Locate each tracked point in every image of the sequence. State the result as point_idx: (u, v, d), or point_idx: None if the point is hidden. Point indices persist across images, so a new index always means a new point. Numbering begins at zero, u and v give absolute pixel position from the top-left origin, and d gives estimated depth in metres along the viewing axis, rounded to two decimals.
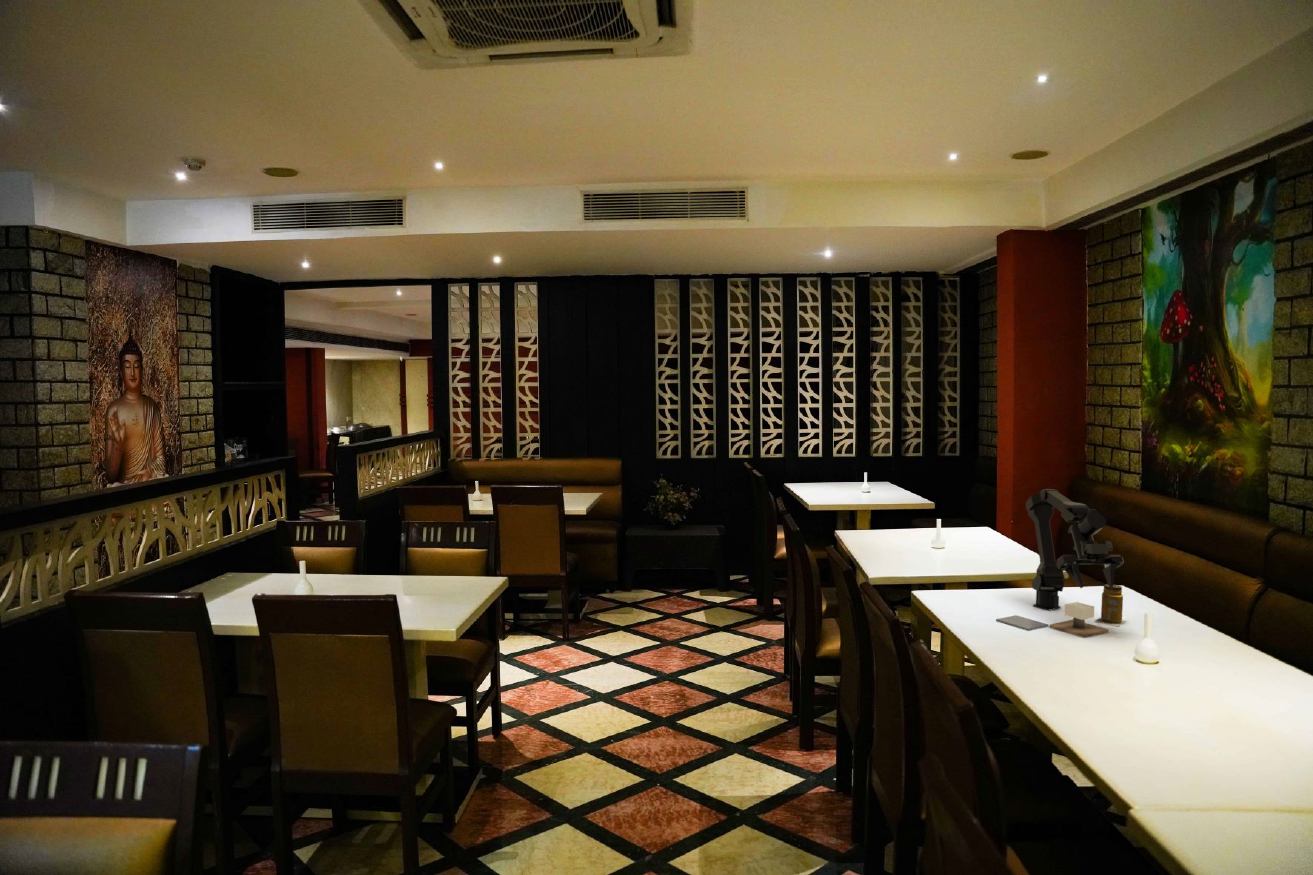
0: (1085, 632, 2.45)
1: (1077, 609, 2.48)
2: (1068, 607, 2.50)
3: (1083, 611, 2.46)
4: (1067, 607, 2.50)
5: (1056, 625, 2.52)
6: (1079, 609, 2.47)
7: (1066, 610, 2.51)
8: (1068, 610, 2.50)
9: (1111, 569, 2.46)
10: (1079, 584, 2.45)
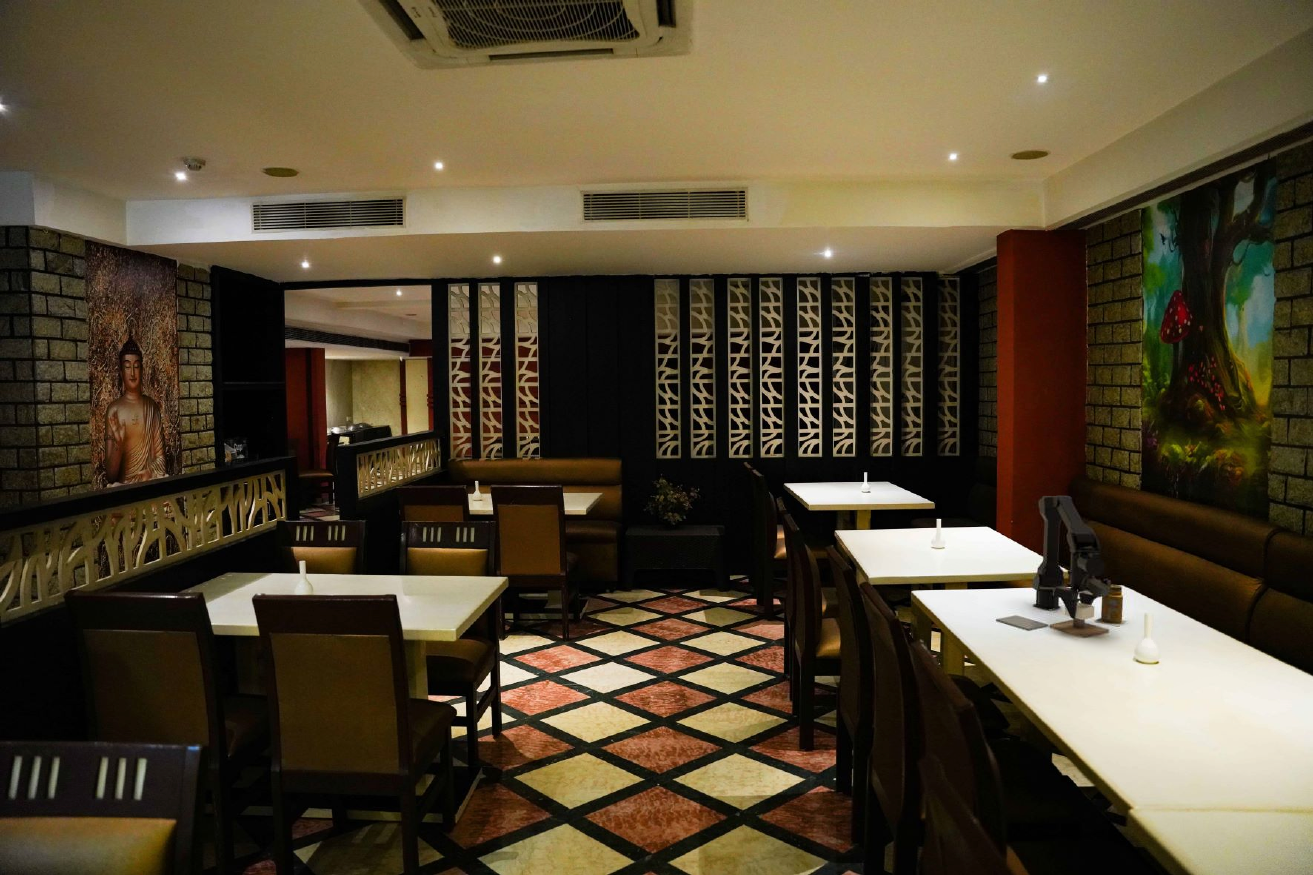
0: (1085, 632, 2.45)
1: (1077, 609, 2.48)
2: None
3: (1083, 611, 2.46)
4: None
5: (1056, 625, 2.52)
6: (1079, 609, 2.47)
7: (1066, 610, 2.51)
8: None
9: (1092, 600, 2.50)
10: (1071, 615, 2.49)
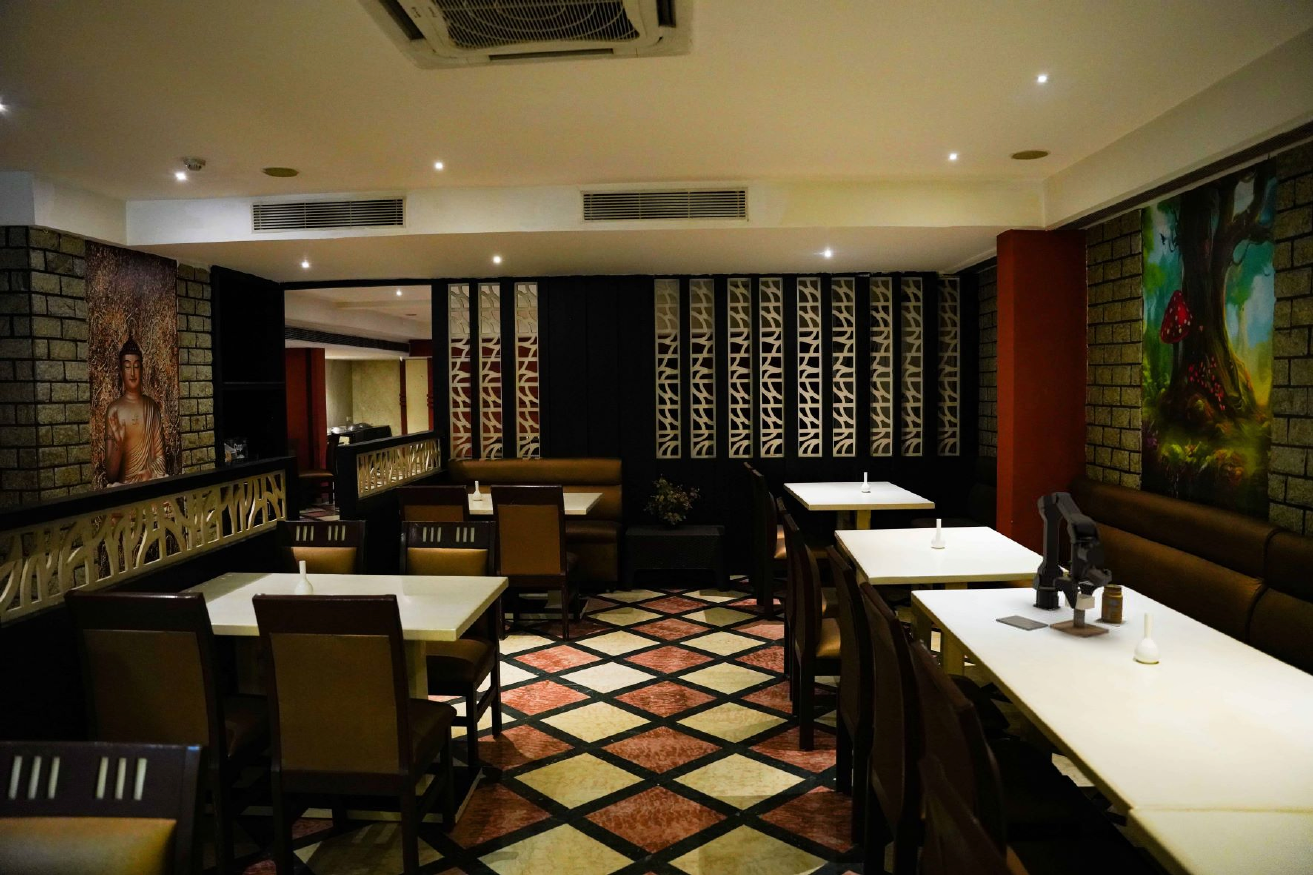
0: (1085, 632, 2.45)
1: (1077, 600, 2.47)
2: None
3: (1084, 602, 2.46)
4: None
5: (1056, 625, 2.52)
6: (1079, 599, 2.47)
7: (1066, 601, 2.51)
8: None
9: (1092, 590, 2.50)
10: (1072, 605, 2.48)
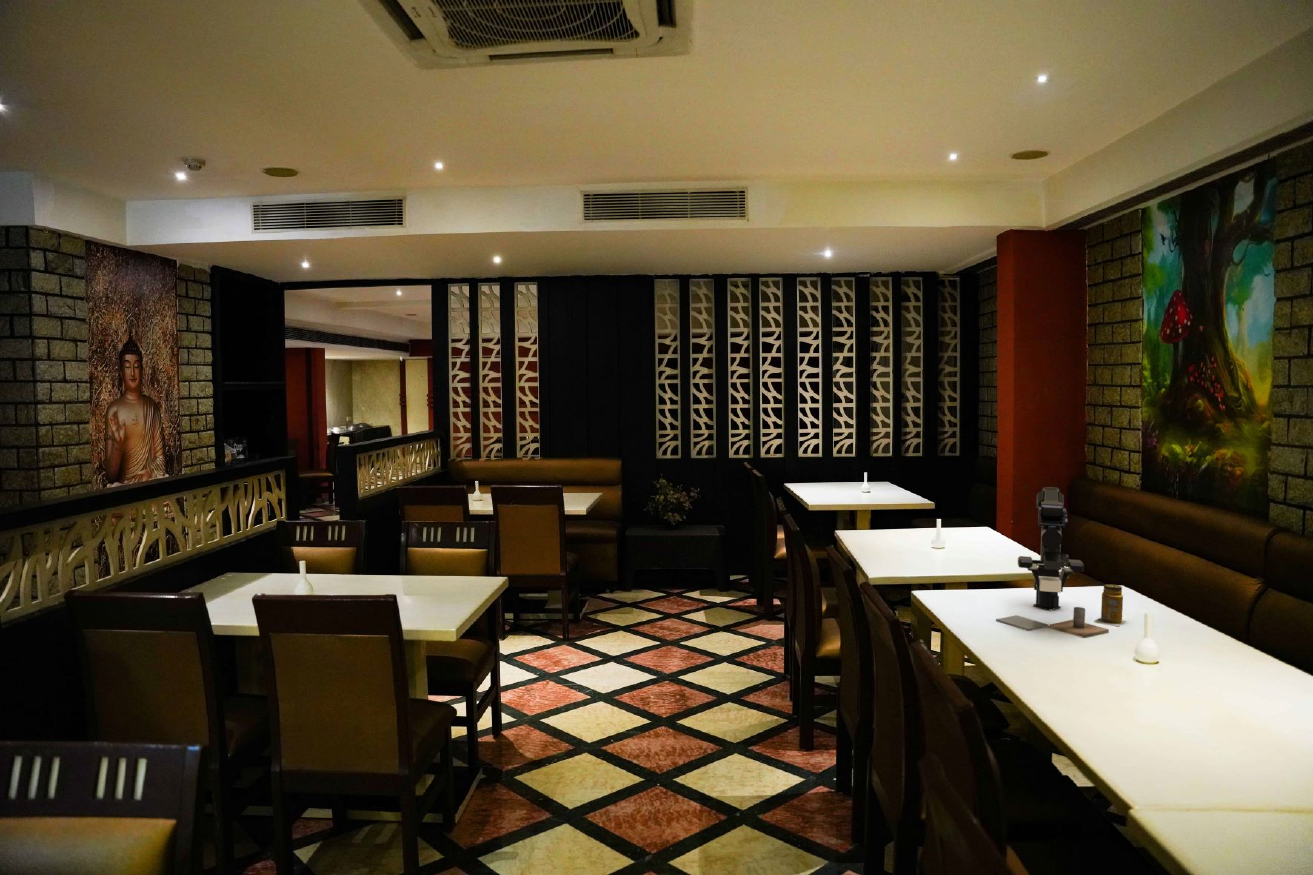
0: (1085, 632, 2.45)
1: (1039, 580, 2.53)
2: None
3: (1042, 583, 2.51)
4: None
5: (1056, 625, 2.52)
6: (1040, 580, 2.52)
7: None
8: None
9: (1063, 575, 2.50)
10: (1036, 586, 2.55)
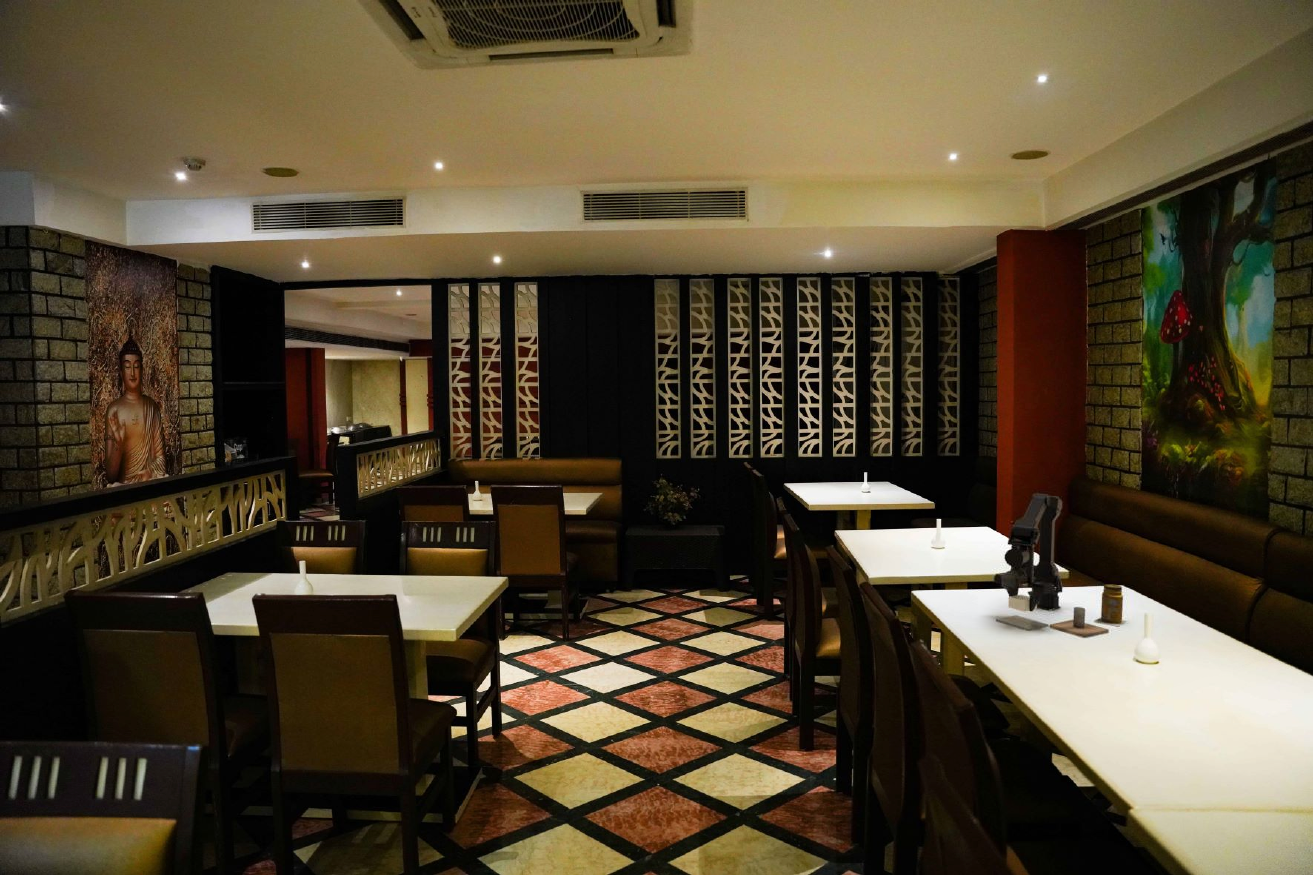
0: (1085, 632, 2.45)
1: None
2: None
3: (1010, 600, 2.58)
4: None
5: (1056, 625, 2.52)
6: None
7: None
8: None
9: (1030, 596, 2.53)
10: None
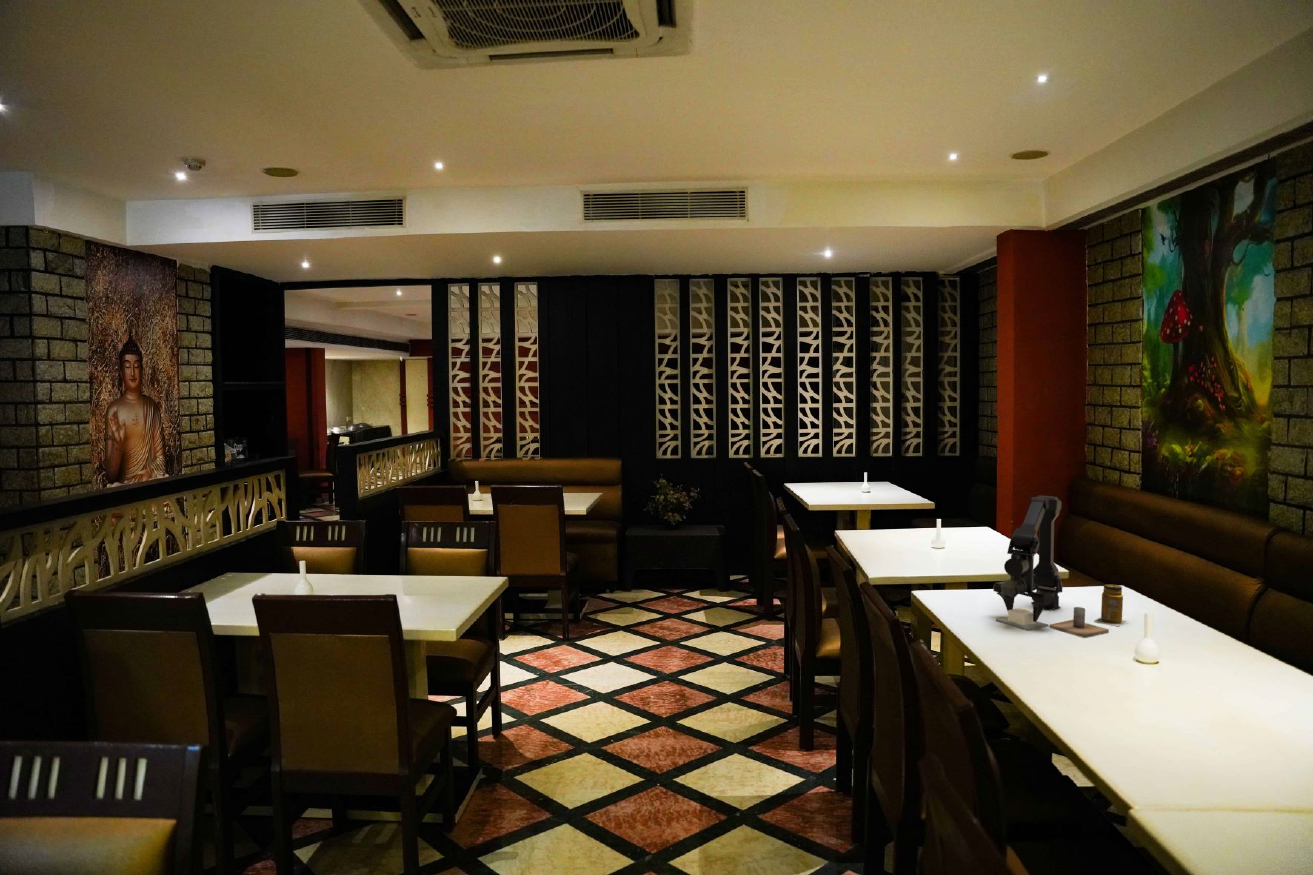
0: (1085, 632, 2.45)
1: None
2: None
3: (1009, 613, 2.58)
4: None
5: (1056, 625, 2.52)
6: None
7: None
8: None
9: (1033, 606, 2.51)
10: None
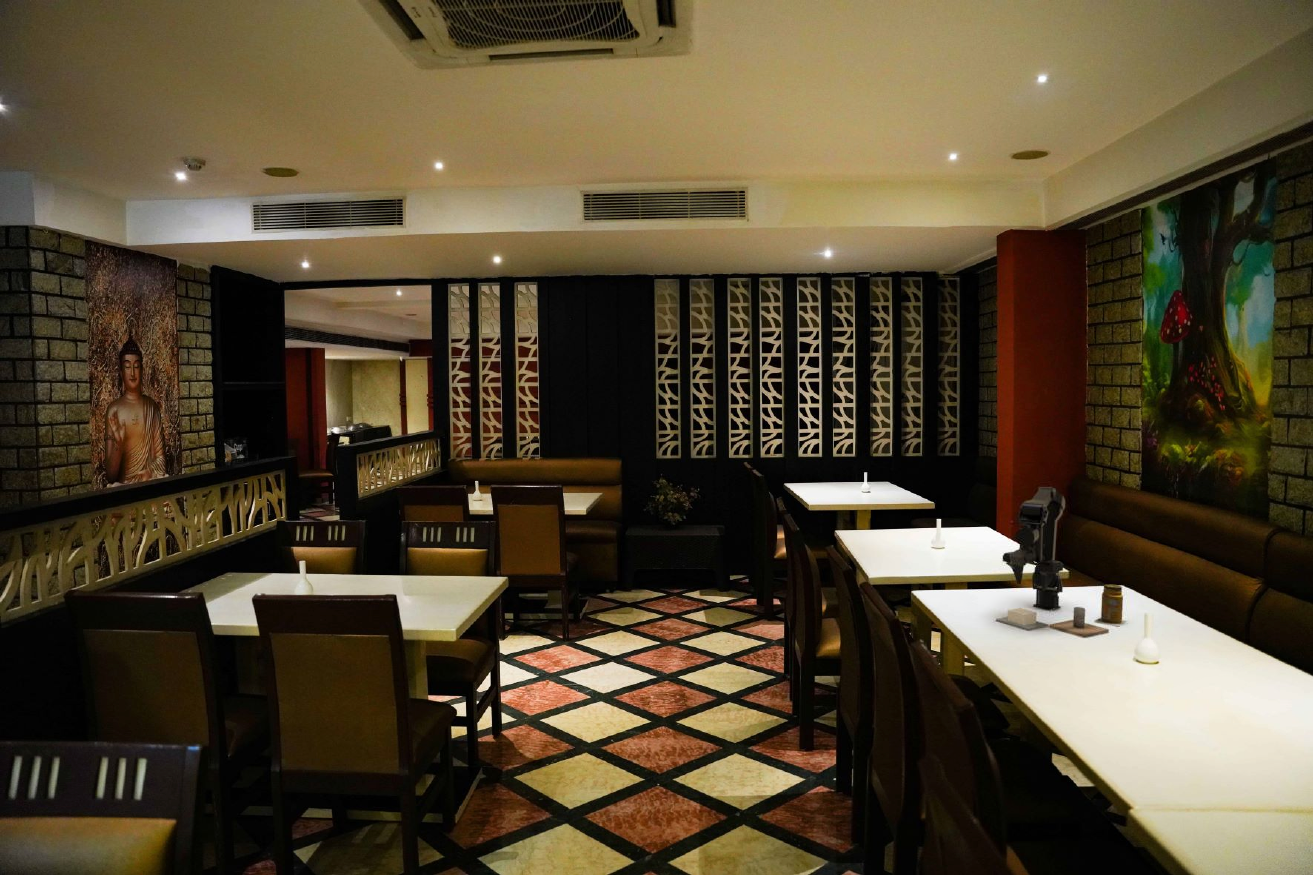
0: (1085, 632, 2.45)
1: None
2: None
3: (1009, 613, 2.58)
4: None
5: (1056, 625, 2.52)
6: None
7: None
8: None
9: (1042, 575, 2.53)
10: None
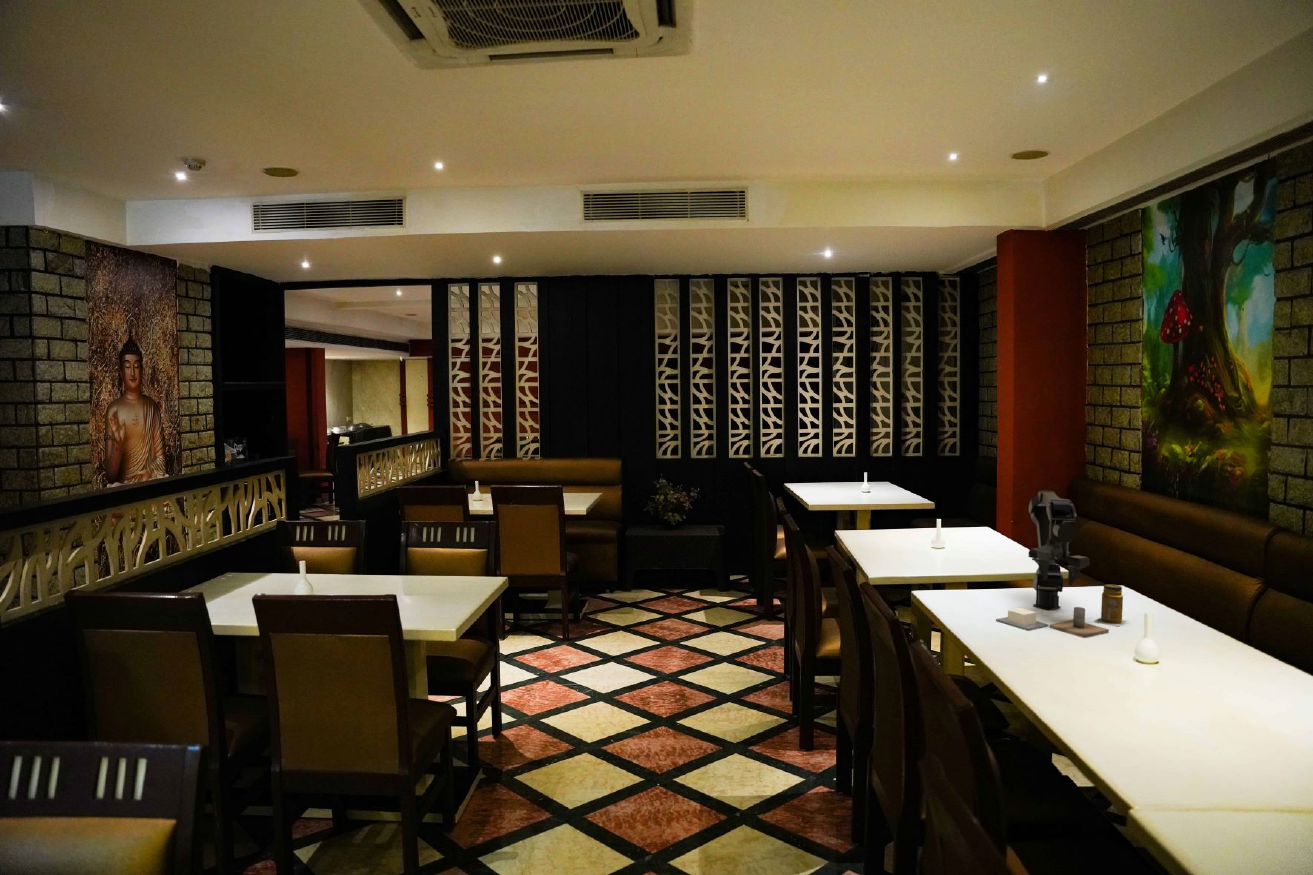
0: (1085, 632, 2.45)
1: None
2: None
3: (1009, 613, 2.58)
4: None
5: (1056, 625, 2.52)
6: None
7: None
8: None
9: (1069, 570, 2.57)
10: None
